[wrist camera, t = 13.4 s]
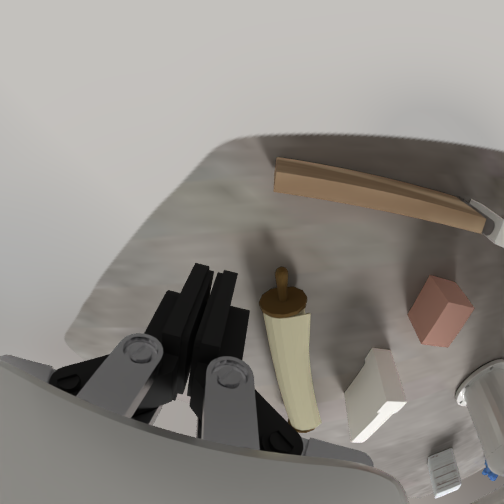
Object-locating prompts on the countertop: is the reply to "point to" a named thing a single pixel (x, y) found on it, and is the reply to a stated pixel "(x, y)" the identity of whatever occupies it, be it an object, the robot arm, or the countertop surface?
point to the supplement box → (444, 473)
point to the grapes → (489, 472)
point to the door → (377, 194)
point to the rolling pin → (291, 350)
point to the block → (439, 312)
